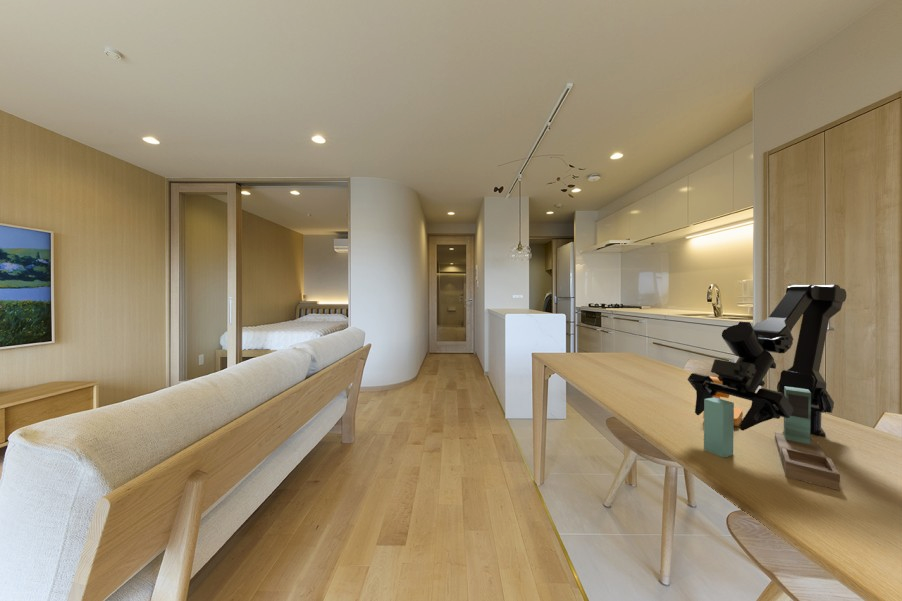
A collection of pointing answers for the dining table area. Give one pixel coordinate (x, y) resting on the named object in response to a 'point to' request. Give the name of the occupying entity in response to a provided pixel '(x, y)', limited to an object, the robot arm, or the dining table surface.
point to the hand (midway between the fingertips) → (717, 421)
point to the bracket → (737, 411)
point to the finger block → (718, 426)
